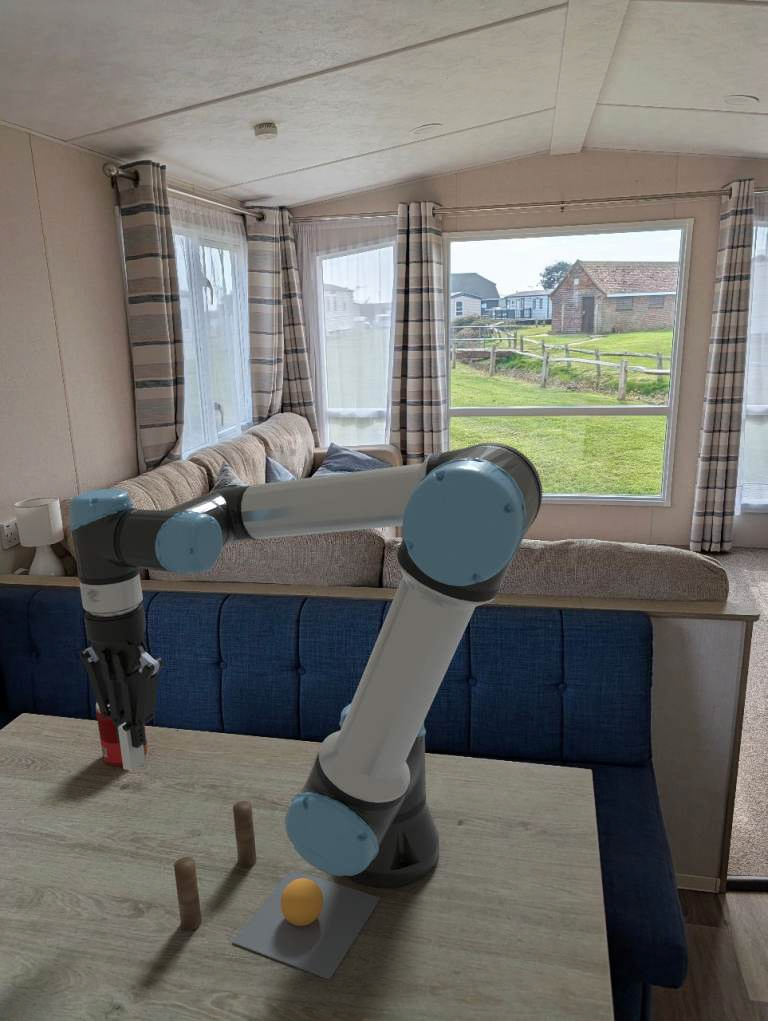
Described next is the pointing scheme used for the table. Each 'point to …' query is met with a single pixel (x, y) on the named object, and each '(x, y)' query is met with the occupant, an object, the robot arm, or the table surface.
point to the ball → (301, 902)
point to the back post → (244, 833)
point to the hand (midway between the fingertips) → (134, 764)
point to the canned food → (111, 740)
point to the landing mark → (309, 928)
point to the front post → (187, 893)
